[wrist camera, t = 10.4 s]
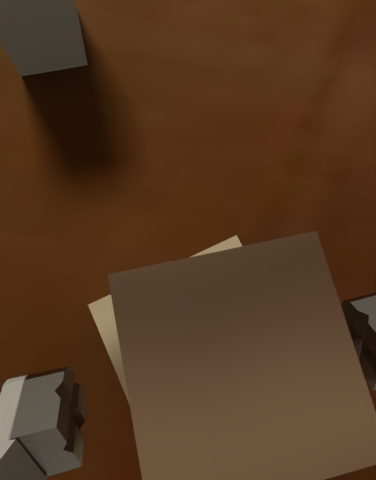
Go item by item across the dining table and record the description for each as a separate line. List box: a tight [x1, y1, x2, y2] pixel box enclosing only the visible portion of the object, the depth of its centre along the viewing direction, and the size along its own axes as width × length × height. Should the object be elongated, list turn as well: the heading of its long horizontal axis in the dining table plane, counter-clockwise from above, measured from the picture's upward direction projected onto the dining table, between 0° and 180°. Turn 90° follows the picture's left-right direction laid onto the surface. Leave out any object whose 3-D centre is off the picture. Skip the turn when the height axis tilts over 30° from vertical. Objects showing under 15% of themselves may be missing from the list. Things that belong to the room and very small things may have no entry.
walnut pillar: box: [108, 231, 376, 480], centre depth 11 cm, size 4×4×10 cm
